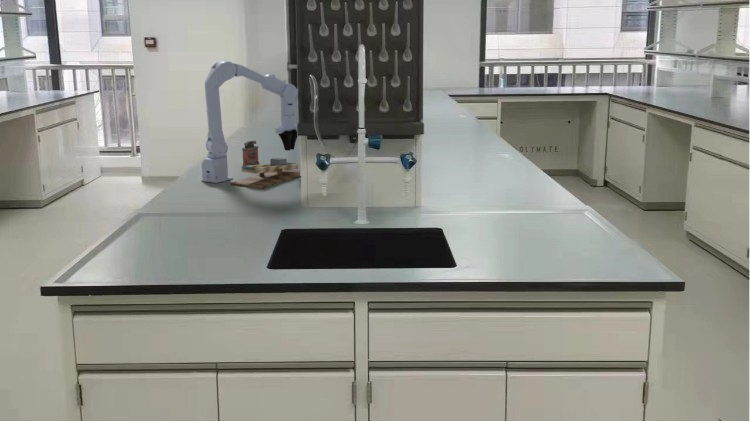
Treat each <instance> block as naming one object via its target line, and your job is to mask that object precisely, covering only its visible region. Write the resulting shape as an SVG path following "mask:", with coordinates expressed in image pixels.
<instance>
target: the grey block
mask: <svg viewBox="0 0 750 422" xmlns="http://www.w3.org/2000/svg"><path fill="white" fill-rule="evenodd" d="M287 160H288V159H287V158H284V157H283V158H282V157H276V158H275V157H274V158H270V163H269V164H270V166H280V165H287V162H288V161H287Z"/></svg>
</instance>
